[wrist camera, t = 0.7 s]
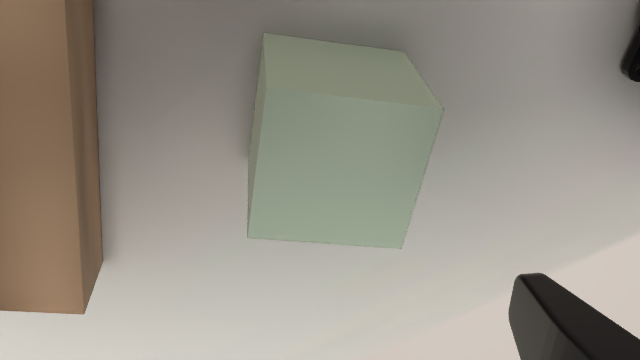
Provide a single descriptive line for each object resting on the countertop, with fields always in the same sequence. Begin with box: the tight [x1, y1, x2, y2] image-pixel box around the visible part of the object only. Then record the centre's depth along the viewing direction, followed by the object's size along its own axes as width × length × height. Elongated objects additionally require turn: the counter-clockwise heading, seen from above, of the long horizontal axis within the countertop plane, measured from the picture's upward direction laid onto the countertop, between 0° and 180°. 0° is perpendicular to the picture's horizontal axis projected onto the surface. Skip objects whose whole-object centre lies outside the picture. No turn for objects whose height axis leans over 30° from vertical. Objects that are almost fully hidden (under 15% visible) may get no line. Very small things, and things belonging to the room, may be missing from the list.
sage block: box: [247, 33, 444, 249], centre depth 19 cm, size 5×5×5 cm
